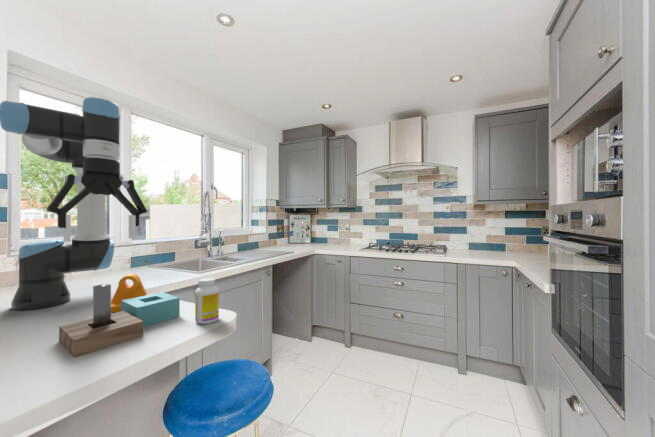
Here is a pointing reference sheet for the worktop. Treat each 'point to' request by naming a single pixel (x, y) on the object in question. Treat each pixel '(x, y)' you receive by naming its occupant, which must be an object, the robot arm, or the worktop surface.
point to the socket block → (99, 333)
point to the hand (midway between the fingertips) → (102, 239)
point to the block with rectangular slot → (152, 307)
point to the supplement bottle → (206, 302)
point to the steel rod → (101, 305)
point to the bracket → (127, 291)
